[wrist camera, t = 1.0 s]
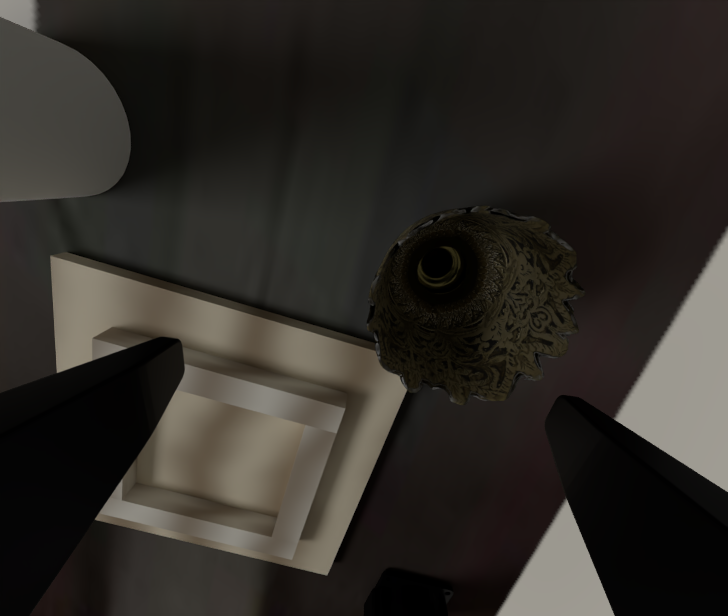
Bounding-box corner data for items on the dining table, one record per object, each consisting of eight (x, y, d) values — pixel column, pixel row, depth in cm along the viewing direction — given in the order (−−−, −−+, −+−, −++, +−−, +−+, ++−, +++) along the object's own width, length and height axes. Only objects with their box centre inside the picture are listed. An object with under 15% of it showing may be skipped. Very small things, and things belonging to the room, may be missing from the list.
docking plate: (416, 355, 21) (421, 377, 19) (328, 562, 29) (324, 596, 27) (66, 252, 19) (23, 262, 17) (75, 501, 27) (47, 530, 25)
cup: (527, 220, 18) (635, 251, 10) (470, 336, 20) (523, 428, 13) (397, 175, 17) (411, 173, 10) (355, 300, 20) (341, 374, 12)
